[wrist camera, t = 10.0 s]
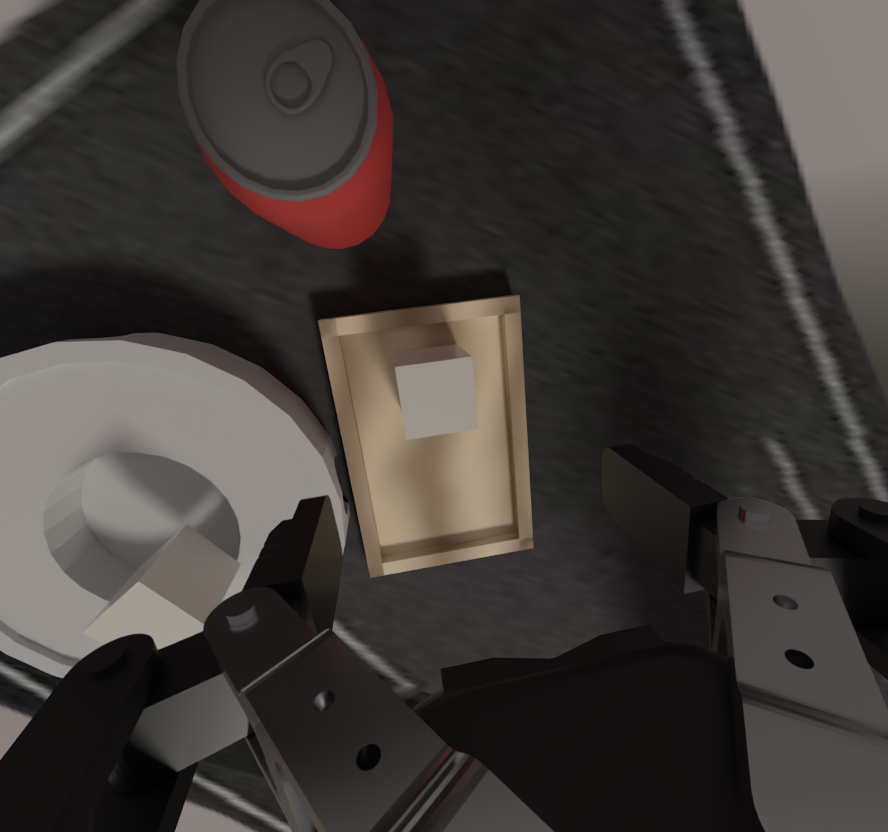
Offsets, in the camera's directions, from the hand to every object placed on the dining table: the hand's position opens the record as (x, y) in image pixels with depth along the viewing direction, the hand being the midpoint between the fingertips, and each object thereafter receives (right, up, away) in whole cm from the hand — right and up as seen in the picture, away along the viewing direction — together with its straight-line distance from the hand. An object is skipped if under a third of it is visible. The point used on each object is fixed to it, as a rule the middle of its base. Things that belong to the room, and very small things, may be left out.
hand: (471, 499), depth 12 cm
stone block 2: (-2, +5, +15) cm, 16 cm away
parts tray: (-1, +1, +17) cm, 17 cm away
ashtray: (-19, -4, +16) cm, 25 cm away
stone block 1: (-16, -7, +13) cm, 22 cm away
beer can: (-7, +15, +11) cm, 20 cm away
